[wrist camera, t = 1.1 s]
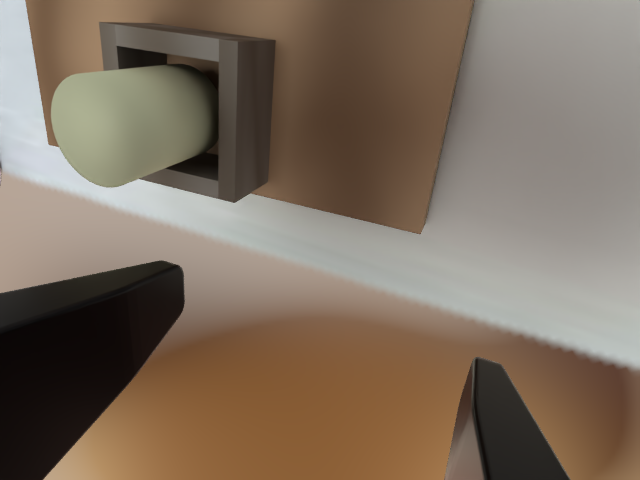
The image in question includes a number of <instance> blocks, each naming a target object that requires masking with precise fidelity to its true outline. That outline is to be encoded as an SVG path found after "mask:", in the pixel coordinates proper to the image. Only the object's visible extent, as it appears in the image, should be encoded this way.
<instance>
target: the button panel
mask: <svg viewBox="0 0 640 480" xmlns="http://www.w3.org/2000/svg"><path fill="white" fill-rule="evenodd" d="M25 1H26V7H27V13H28V19H29V25H30V32H31V38H32V44H33V50H34V57H35V63H36V69H37V75H38V81H39V88H40V94H41V100H42V106H43V113H44V119H45V125H46V131H47V137H48V144H49V145H52V146H57V147H59V145H58V143H57V141H56V138H55V135H54V131H53V127H52V121H51V105H52V99H53V96H54V93H55V91H56V89H57V87H58V86H59V84H60V83H61V82H62V81H63V80H64V79H66V78H67V77H69V76H71V75H74V74H79V73H89V72H99V71H109V70H119V69H129V68H138V67H148V66H158V65H168V64H186V65H190V66H192V67H194V68H196V69H198V70H199V71H201V72H202V73H203V74H204V75H206V76H207V77H208V78H209V80H210V81H211V82H212V84H213V85H214V87H215V88H216V90H217V92H218V94H219V139H218V141H217V142H216V144H215V145H214V146H213V147H212V148H211V149H210V150H208V151H206V152H204V153H202V154H199V155H197V156H194V157H192V158H189V159H187V160H184V161H182V162H179V163H177V164H174V165H172V166H169V167H167V168H164V169H162V170H159V171H157V172H154V173H152V174H149V175H147V176H144V177H142V178H139V179H141V180H145V181H149V182H153V183H157V184H161V185H165V186H169V187H173V188H177V189H181V190H185V191H189V192H193V193H197V194H201V195H205V196H209V197H213V198H217V199H221V200H225V201H229V202H233V203H235V202H237V201H238V200H240V199H242V198H243V197H245V196H246V195H248V194H250V193H251V194H256V195H260V196H264V197H268V198H272V199H276V200H281V201H285V202H289V203H293V204H297V205H301V206H305V207H310V208H314V209H318V210H322V211H326V212H330V213H334V214H339V215H343V216H347V217H351V218H355V219H359V220H363V221H368V222H372V223H376V224H380V225H384V226H388V227H392V228H397V229H401V230H405V231H409V232H413V233H417V234H421V232H422V230H423V227H424V225H425V223H426V218H427V213H428V209H429V204H430V200H431V195H432V191H433V186H434V182H435V177H436V173H437V168H438V164H439V159H440V155H441V150H442V146H443V141H444V136H445V132H446V127H447V123H448V118H449V114H450V109H451V105H452V100H453V96H454V91H455V87H456V82H457V78H458V73H459V69H460V64H461V59H462V55H463V50H464V46H465V41H466V37H467V32H468V28H469V23H470V19H471V14H472V10H473V5H474V1H475V0H25Z"/></svg>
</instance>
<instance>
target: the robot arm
mask: <svg viewBox="0 0 640 480" xmlns="http://www.w3.org/2000/svg"><path fill="white" fill-rule="evenodd" d="M184 302H185V300H184V274H183V270H182V268H181V267H180V266H179V265H176V264H173V263H169V262H166V261H155V262H151V263H146V264H141V265H136V266H132V267H126V268H121V269H116V270H112V271H107V272H102V273H97V274H92V275H87V276H83V277H77V278H73V279H68V280H63V281H58V282H53V283H48V284H44V285H38V286H34V287H29V288H24V289H19V290H14V291H9V292H5V293H0V480H43V479H44V478H45V477H46V476H47V474H48V473H49V472H50V471H51V470H52V469H53V468H54V467H55V466H56V464H57V463H58V462H59V461H60V460H61V459H62V458H63V457H64V456H65V455H66V453H67V452H68V451H69V450H70V449H71V448H72V447H73V446H74V445H75V443H76V442H77V441H78V440H79V439H80V438H81V437H82V436H83V434H84V433H85V432H86V431H87V430H88V429H89V428H90V427H91V426H92V424H93V423H94V422H95V421H96V420H97V419H98V418H99V417H100V416H101V414H102V413H103V412H104V411H105V410H106V409H107V408H108V407H109V405H110V404H111V403H112V402H113V401H114V400H115V399H116V397H118V395H119V394H120V393H121V392H122V391H123V390H124V389H125V388H126V386H127V385H128V384H129V383H130V382H131V381H132V379H133V378H134V377H135V376H136V375H137V373H138V372H139V371H140V369H141V368H142V367H143V365H144V364H145V363H146V361H147V360H148V359H149V357H150V356H151V355H152V353H153V352H154V351H155V349H156V347H157V346H158V345H159V343H160V342H161V341H162V340H163V338H164V337H165V335H166V334H167V333H168V331H169V330H170V329H171V327H172V326H173V325H174V323H175V322H176V320H177V319H178V318H179V316H180V315H181V313H182V311H183V308H184ZM444 480H570V478H569V476H568V475H567V473H566V471H565V470H564V468H563V466H562V465H561V463H560V461H559V460H558V458H557V456H556V454H555V453H554V451H553V449H552V448H551V446H550V444H549V443H548V441H547V439H546V438H545V436H544V434H543V433H542V431H541V429H540V428H539V426H538V424H537V423H536V421H535V419H534V418H533V416H532V414H531V413H530V411H529V409H528V408H527V406H526V404H525V403H524V401H523V399H522V397H521V396H520V394H519V392H518V391H517V389H516V387H515V386H514V384H513V382H512V381H511V379H510V377H509V376H508V374H507V372H506V371H505V369H504V367H503V366H502V365H501V364H499V363H497V362H493V361H490V360H487V359H484V358H480V357H476V358H474V359H473V361H472V364H471V367H470V370H469V374H468V376H467V380H466V383H465V386H464V389H463V392H462V395H461V399H460V403H459V407H458V412H457V418H456V422H455V427H454V433H453V438H452V443H451V448H450V453H449V458H448V463H447V469H446V474H445V479H444Z"/></svg>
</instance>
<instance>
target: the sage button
mask: <svg viewBox="0 0 640 480" xmlns="http://www.w3.org/2000/svg"><path fill="white" fill-rule="evenodd" d="M51 121H52V127H53V131H54V135H55V138H56V141H57V143H58V145H59V147H60V149H61V151H62V153H63V155H64V156H65V158H66V159H67V161H68V162H69V164H70V165H71V166H72V167H73V168H74V169H75V170H76V171H77V172H78V173H79V174H80V175H81V176H83V177H84V178H85V179H87V180H88V181H90V182H92V183H94V184H96V185H99V186H103V187H118V186H121V185H124V184H127V183H129V182H132V181H134V180H137V179H139V178H142V177H144V176H147V175H149V174H152V173H154V172H157V171H159V170H162V169H164V168H167V167H169V166H172V165H174V164H177V163H179V162H182V161H184V160H187V159H189V158H192V157H194V156H197V155H199V154H202V153H204V152H206V151H208V150H210V149H211V148H212V147H213V146H214V145H215V144H216V142H217V141H218V139H219V94H218V92H217V90H216V88H215V87H214V85H213V84H212V82H211V81H210V80H209V78H208V77H207V76H206V75H204V74H203V73H202V72H201V71H199V70H198V69H196V68H194V67H192V66H190V65H186V64H168V65H158V66H148V67H138V68H129V69H119V70H109V71H99V72H89V73H79V74H74V75H71V76H69V77H67V78H66V79H64V80H63V81H62V82H61V83H60V84H59V86H58V87H57V89H56V91H55V93H54V96H53V99H52V105H51Z"/></svg>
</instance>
